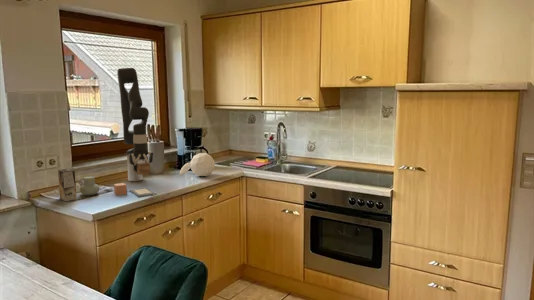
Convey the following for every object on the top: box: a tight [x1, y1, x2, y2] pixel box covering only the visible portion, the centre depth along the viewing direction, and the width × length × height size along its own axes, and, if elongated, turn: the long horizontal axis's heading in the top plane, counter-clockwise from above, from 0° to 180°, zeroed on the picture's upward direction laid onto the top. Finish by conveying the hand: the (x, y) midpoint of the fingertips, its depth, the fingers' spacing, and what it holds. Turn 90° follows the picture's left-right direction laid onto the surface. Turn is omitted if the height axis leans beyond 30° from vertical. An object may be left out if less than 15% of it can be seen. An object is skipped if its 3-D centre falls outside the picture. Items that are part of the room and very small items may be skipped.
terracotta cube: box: [113, 182, 128, 196], centre depth 235 cm, size 6×6×6 cm
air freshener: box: [79, 176, 100, 196], centre depth 232 cm, size 11×8×10 cm
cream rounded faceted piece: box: [179, 152, 216, 177], centre depth 283 cm, size 16×22×28 cm
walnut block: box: [133, 160, 151, 176], centre depth 234 cm, size 10×6×6 cm, turn 38°
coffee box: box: [57, 168, 77, 202], centre depth 222 cm, size 9×6×16 cm
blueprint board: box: [129, 187, 157, 198], centre depth 236 cm, size 17×10×1 cm, turn 35°
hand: (141, 170), depth 234 cm, fingers closed on walnut block, 6 cm apart
